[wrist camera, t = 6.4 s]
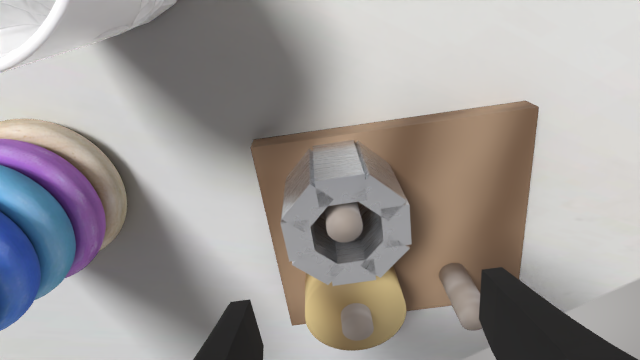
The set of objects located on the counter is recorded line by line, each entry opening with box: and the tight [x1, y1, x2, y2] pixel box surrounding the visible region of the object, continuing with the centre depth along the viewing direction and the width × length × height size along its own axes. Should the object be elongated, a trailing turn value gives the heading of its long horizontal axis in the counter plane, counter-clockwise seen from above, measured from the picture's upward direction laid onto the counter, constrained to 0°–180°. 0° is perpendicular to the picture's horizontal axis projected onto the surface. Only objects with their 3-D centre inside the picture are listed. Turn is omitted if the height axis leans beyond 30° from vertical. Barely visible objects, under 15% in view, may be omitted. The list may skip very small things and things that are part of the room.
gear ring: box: [280, 140, 412, 286], centre depth 18 cm, size 5×5×4 cm
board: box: [251, 101, 539, 350], centre depth 20 cm, size 14×12×5 cm
